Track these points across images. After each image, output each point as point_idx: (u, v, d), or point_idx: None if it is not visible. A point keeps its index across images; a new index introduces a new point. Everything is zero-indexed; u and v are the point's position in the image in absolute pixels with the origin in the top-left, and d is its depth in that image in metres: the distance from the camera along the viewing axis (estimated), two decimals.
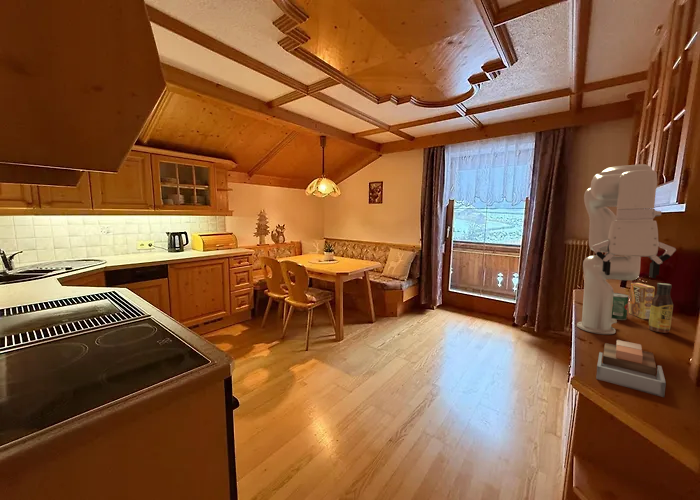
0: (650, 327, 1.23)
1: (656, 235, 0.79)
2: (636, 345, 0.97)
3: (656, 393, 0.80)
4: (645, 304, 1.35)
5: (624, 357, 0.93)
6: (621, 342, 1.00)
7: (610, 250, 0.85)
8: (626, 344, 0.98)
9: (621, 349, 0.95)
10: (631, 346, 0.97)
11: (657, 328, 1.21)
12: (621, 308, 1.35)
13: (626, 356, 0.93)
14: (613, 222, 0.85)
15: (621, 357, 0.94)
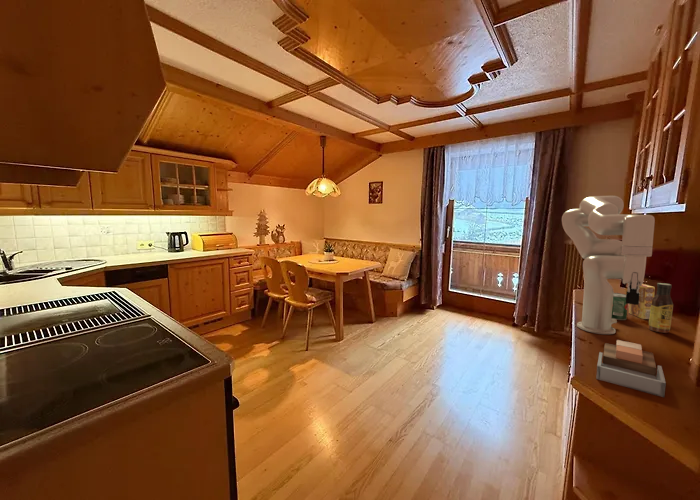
0: (650, 327, 1.23)
1: None
2: (636, 345, 0.97)
3: (656, 393, 0.80)
4: (645, 304, 1.35)
5: (624, 357, 0.93)
6: (621, 342, 1.00)
7: (641, 282, 0.97)
8: (626, 344, 0.98)
9: (621, 349, 0.95)
10: (631, 346, 0.97)
11: (657, 328, 1.21)
12: (621, 308, 1.35)
13: (626, 356, 0.93)
14: (638, 258, 0.97)
15: (621, 357, 0.94)
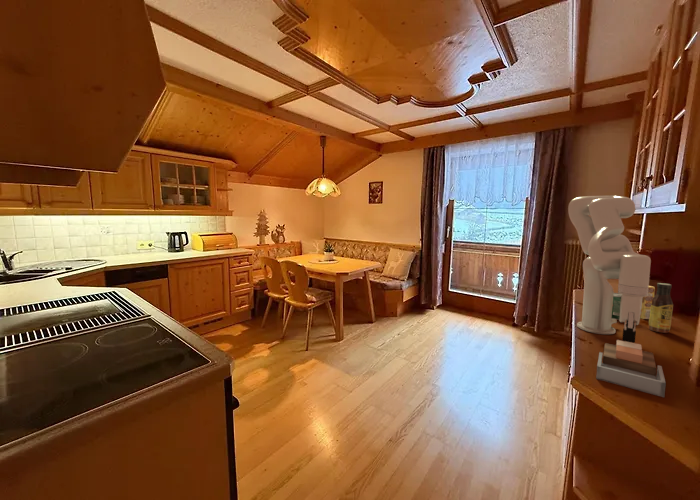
0: (650, 327, 1.23)
1: None
2: (636, 345, 0.97)
3: (656, 393, 0.80)
4: (645, 304, 1.35)
5: (624, 357, 0.93)
6: (621, 342, 1.00)
7: (638, 322, 0.98)
8: (626, 344, 0.98)
9: (621, 349, 0.95)
10: (631, 346, 0.97)
11: (657, 328, 1.21)
12: None
13: (626, 356, 0.93)
14: (634, 298, 0.99)
15: (621, 357, 0.94)
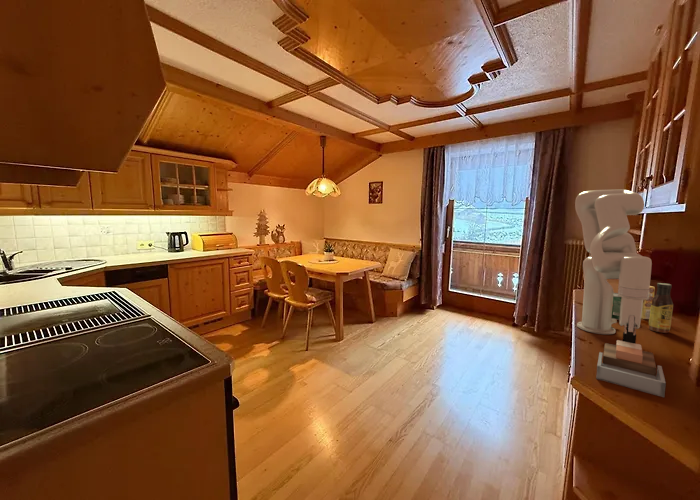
0: (650, 327, 1.23)
1: None
2: (636, 345, 0.97)
3: (656, 393, 0.80)
4: (645, 304, 1.35)
5: (624, 357, 0.93)
6: (621, 342, 0.99)
7: (638, 325, 0.96)
8: (626, 344, 0.98)
9: (621, 349, 0.95)
10: (631, 346, 0.97)
11: (657, 328, 1.21)
12: None
13: (626, 356, 0.93)
14: (635, 300, 0.96)
15: (621, 357, 0.94)
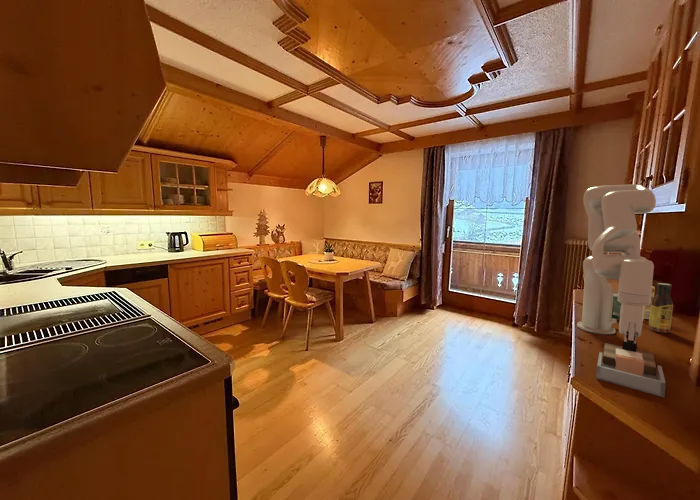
0: (650, 327, 1.23)
1: None
2: (636, 354, 0.91)
3: (656, 393, 0.80)
4: None
5: None
6: (621, 351, 0.93)
7: (639, 333, 0.89)
8: (626, 353, 0.92)
9: (620, 367, 0.89)
10: (631, 356, 0.90)
11: (657, 328, 1.21)
12: None
13: None
14: (636, 307, 0.90)
15: None
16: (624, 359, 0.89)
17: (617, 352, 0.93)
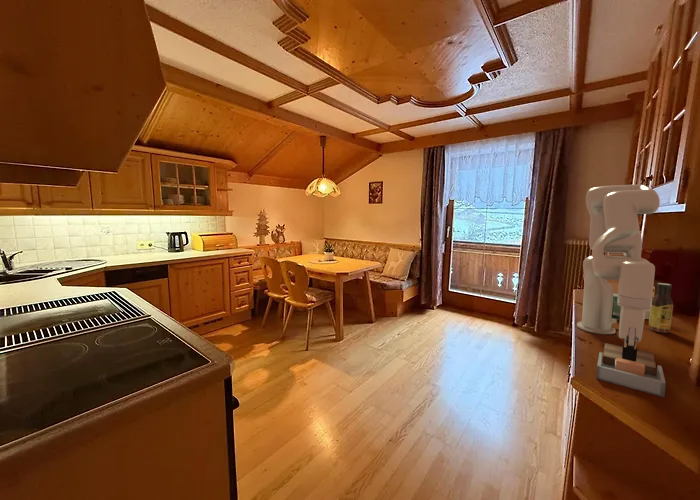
0: (650, 327, 1.23)
1: None
2: None
3: (656, 393, 0.80)
4: None
5: None
6: None
7: (640, 339, 0.86)
8: None
9: None
10: None
11: (657, 328, 1.21)
12: None
13: None
14: (636, 311, 0.86)
15: None
16: (624, 363, 0.87)
17: None
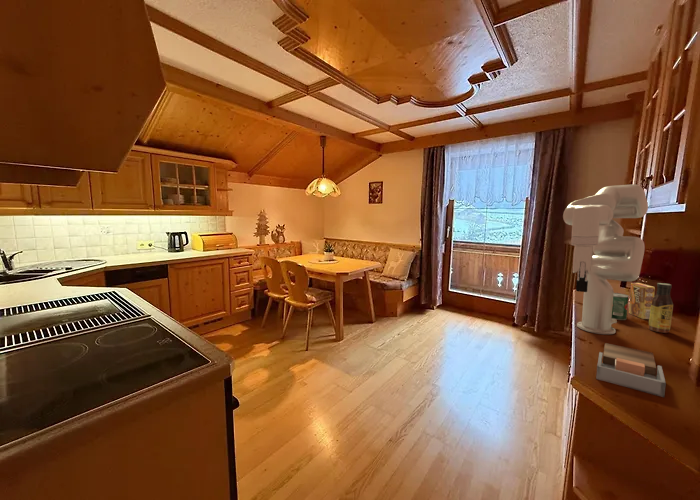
0: (650, 327, 1.23)
1: None
2: None
3: (656, 393, 0.80)
4: (645, 304, 1.35)
5: None
6: None
7: (589, 271, 1.02)
8: None
9: None
10: None
11: (657, 328, 1.21)
12: (621, 308, 1.35)
13: None
14: (585, 247, 1.02)
15: None
16: (624, 364, 0.87)
17: None
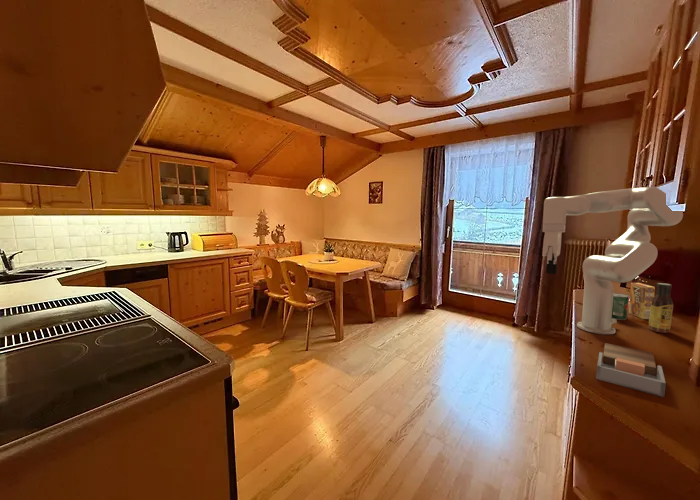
0: (650, 327, 1.23)
1: None
2: None
3: (656, 393, 0.80)
4: (645, 304, 1.35)
5: None
6: None
7: (555, 254, 1.14)
8: None
9: None
10: None
11: (657, 328, 1.21)
12: (621, 308, 1.35)
13: None
14: (553, 233, 1.15)
15: None
16: (624, 364, 0.87)
17: None
